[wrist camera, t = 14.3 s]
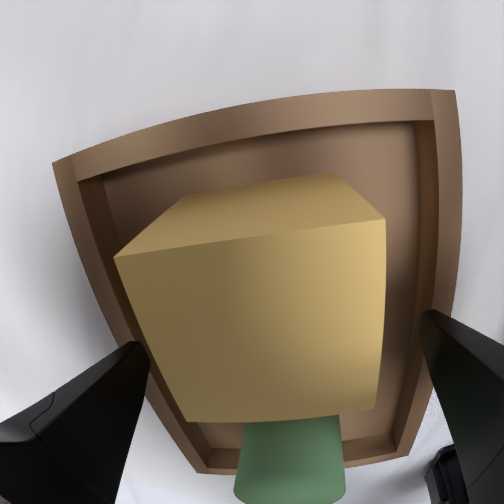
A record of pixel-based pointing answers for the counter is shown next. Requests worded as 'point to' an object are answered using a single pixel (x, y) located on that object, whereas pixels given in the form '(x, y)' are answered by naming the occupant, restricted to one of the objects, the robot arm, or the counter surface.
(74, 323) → the counter surface
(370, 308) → the cheddar cube
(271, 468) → the cucumber chunk
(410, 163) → the serving tray
